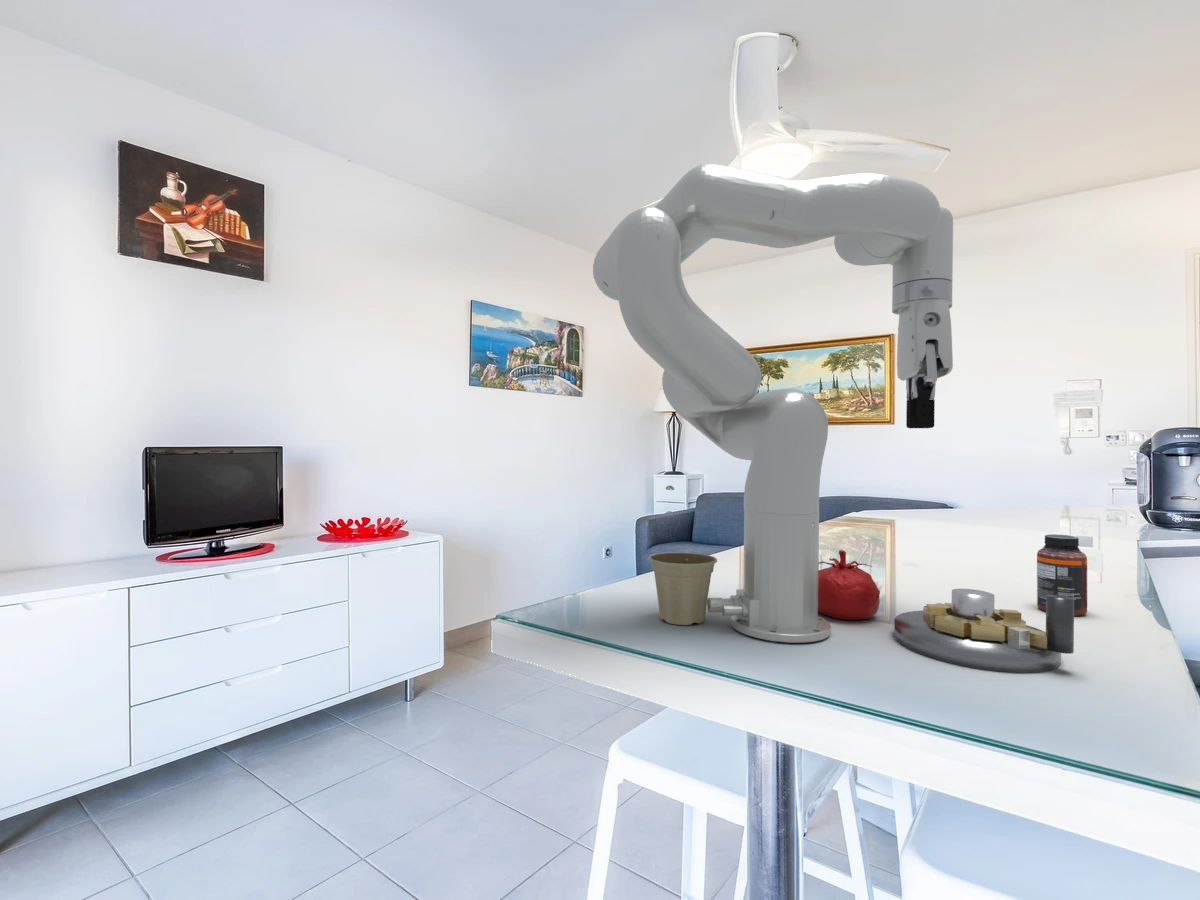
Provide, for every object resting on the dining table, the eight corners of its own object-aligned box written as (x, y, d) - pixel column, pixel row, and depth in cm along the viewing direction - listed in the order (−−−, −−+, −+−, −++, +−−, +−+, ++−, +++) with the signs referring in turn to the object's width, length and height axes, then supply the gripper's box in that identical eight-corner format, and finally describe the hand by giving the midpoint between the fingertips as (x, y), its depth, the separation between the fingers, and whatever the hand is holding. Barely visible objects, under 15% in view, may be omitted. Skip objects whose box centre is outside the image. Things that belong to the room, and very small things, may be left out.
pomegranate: (833, 627, 78) (834, 558, 78) (794, 607, 88) (794, 546, 88) (897, 623, 80) (898, 556, 80) (852, 604, 90) (853, 544, 90)
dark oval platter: (954, 674, 62) (955, 613, 62) (867, 626, 79) (868, 578, 79) (1102, 671, 63) (1102, 611, 63) (985, 624, 80) (985, 576, 80)
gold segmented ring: (908, 622, 73) (908, 576, 73) (953, 611, 78) (954, 569, 78) (1050, 661, 60) (1050, 605, 60) (1093, 645, 65) (1094, 594, 65)
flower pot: (643, 610, 86) (643, 551, 85) (706, 609, 86) (706, 551, 86) (654, 630, 76) (655, 564, 76) (725, 629, 77) (725, 563, 77)
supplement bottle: (1068, 606, 90) (1069, 533, 90) (1097, 618, 84) (1098, 539, 84) (1027, 605, 91) (1028, 532, 91) (1053, 616, 85) (1054, 538, 85)
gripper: (970, 283, 75) (969, 426, 75) (934, 310, 89) (932, 429, 89) (906, 286, 77) (905, 425, 77) (881, 312, 91) (879, 429, 91)
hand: (920, 427), depth 83 cm, fingers closed
